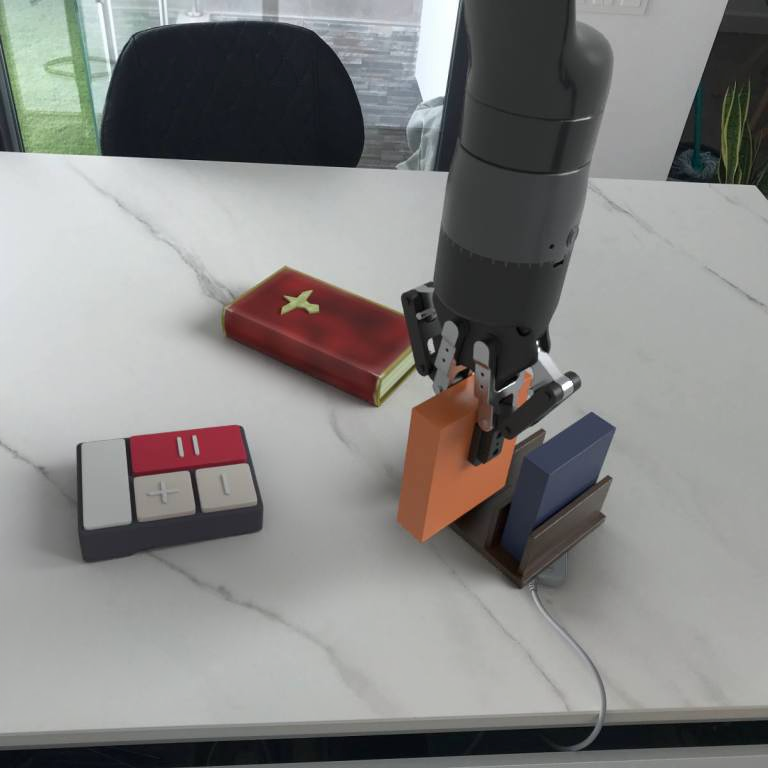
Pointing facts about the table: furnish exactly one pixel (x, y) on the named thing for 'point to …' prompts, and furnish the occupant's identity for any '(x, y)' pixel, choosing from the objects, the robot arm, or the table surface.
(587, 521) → the book rack
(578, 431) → the navy book
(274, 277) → the hardcover book
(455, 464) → the orange book
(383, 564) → the table surface
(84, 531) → the calculator
